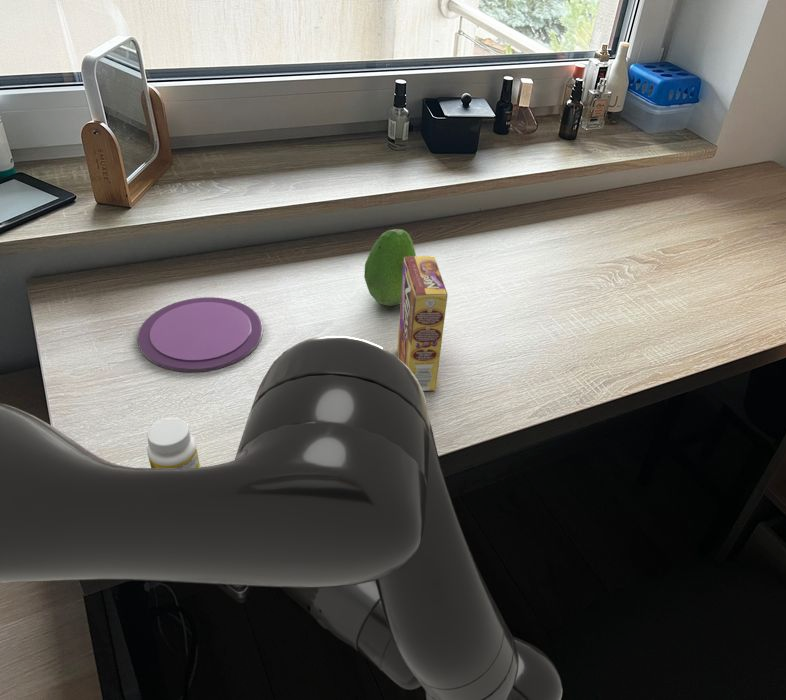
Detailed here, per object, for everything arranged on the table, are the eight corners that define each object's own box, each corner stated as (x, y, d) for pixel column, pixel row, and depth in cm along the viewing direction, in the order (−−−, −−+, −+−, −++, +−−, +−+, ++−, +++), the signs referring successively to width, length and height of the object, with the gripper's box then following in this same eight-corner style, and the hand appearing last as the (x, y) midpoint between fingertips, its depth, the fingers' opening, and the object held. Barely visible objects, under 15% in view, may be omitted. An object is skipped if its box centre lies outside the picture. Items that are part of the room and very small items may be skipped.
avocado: (426, 300, 110) (432, 231, 103) (393, 322, 105) (396, 251, 97) (386, 280, 113) (389, 211, 106) (352, 300, 108) (352, 229, 101)
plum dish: (171, 388, 89) (170, 384, 89) (118, 325, 98) (117, 320, 98) (285, 343, 99) (284, 338, 98) (227, 288, 107) (226, 284, 107)
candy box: (438, 391, 94) (448, 294, 85) (406, 393, 93) (412, 295, 84) (427, 348, 101) (435, 254, 91) (396, 350, 100) (401, 255, 90)
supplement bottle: (157, 472, 79) (143, 417, 74) (202, 466, 80) (192, 411, 75) (156, 506, 76) (142, 451, 70) (204, 498, 77) (193, 443, 72)
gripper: (403, 508, 65) (282, 422, 72) (280, 617, 56) (155, 505, 63) (400, 558, 70) (286, 472, 77) (286, 666, 61) (168, 557, 68)
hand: (227, 487), depth 70 cm, fingers open, 8 cm apart
